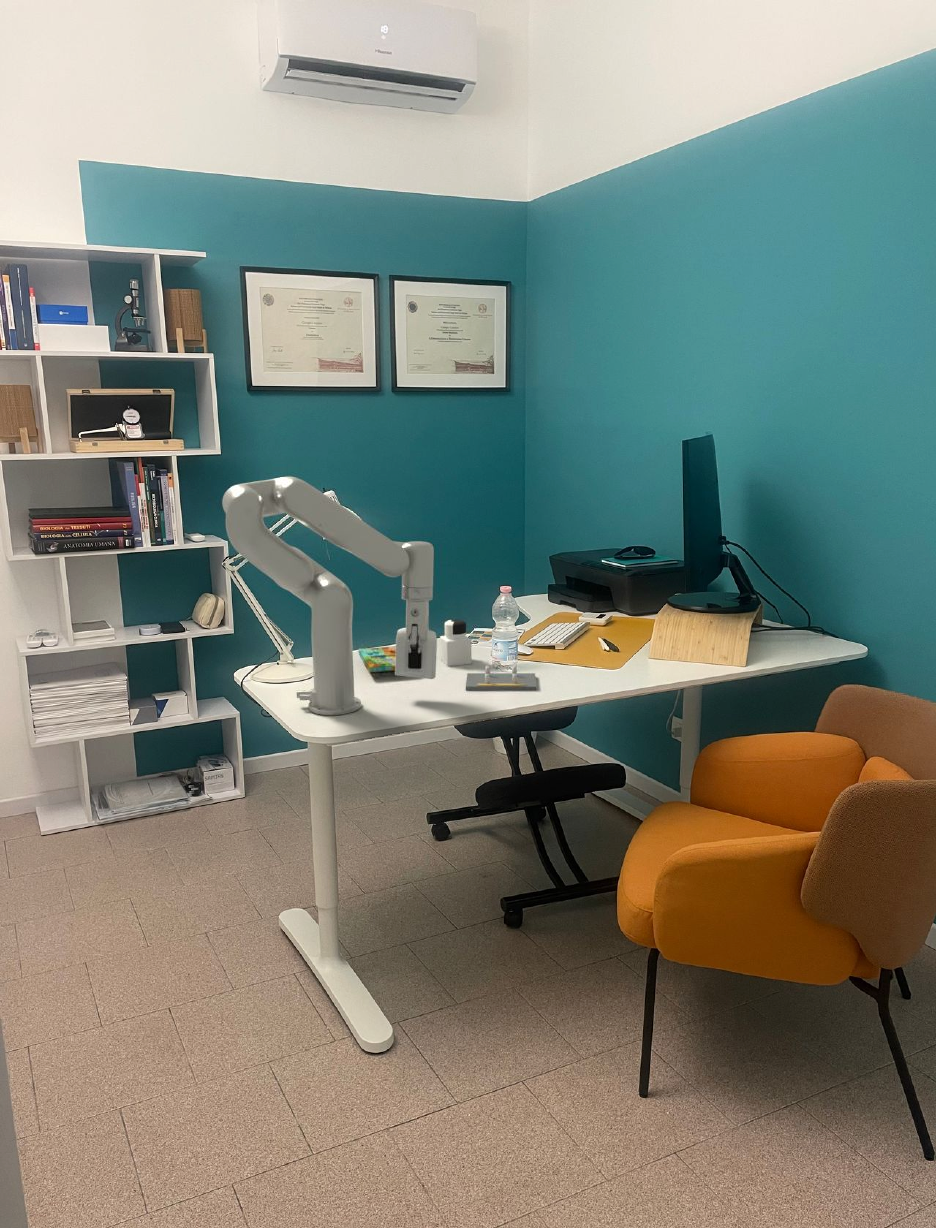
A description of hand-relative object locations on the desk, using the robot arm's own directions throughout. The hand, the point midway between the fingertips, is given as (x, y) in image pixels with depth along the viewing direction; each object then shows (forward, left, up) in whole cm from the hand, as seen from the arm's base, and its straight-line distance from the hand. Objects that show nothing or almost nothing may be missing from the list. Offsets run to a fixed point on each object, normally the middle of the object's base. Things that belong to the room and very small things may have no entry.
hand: (415, 664), depth 231 cm
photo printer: (0, 0, -3) cm, 3 cm away
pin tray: (+21, +12, -9) cm, 26 cm away
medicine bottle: (+8, +33, -9) cm, 35 cm away
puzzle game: (-11, +26, -9) cm, 30 cm away
